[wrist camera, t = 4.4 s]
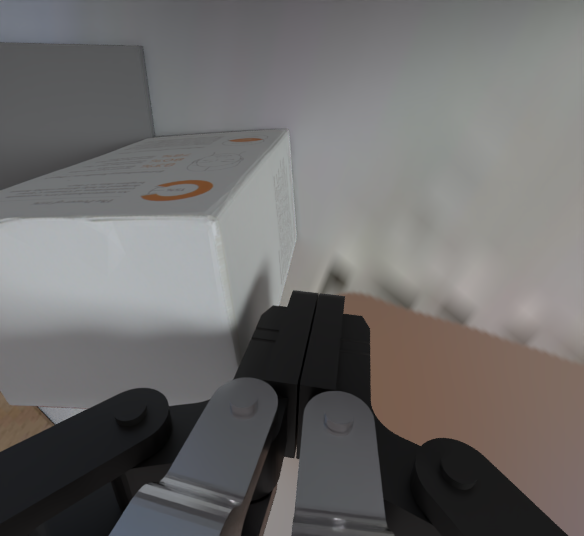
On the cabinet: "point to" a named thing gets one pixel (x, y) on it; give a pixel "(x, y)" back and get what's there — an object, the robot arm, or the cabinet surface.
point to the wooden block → (19, 423)
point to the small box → (143, 268)
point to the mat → (68, 105)
